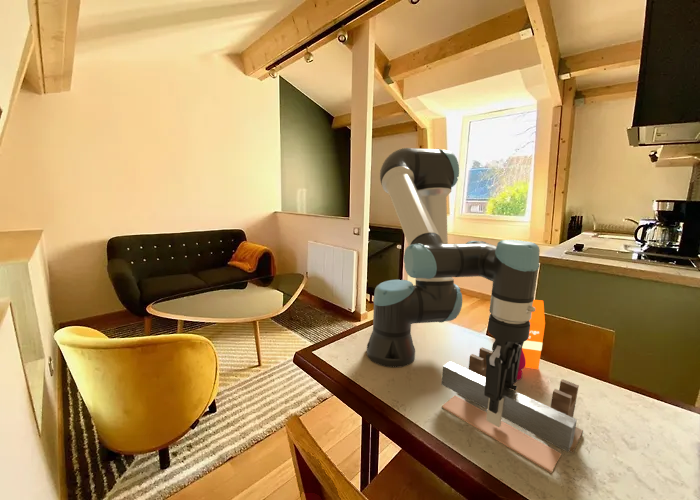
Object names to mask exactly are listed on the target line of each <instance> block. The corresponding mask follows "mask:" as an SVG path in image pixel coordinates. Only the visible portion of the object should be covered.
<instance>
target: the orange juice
mask: <svg viewBox="0 0 700 500" xmlns="http://www.w3.org/2000/svg"><path fill="white" fill-rule="evenodd" d="M532 307H535V309H536V310H535V311H534V312H532V315H531V319H530V320H529V322H530V323H531V324H530V332H529V338H528V340H526V341H524V343H523V346H522V350H523V353H524V356H525V360H526V365H525V367H524V368H526V369H528V368H529V369H534V370H539V367H540V361H541V355H542V350H543V339H544V335H545V334H544V333H545V327H546V320H545V319H546V317H545V305H544V300H541V299H540V300H539V299H534V300H533V305H532Z"/></svg>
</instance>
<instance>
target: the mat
mask: <svg viewBox="0 0 700 500" xmlns="http://www.w3.org/2000/svg"><path fill="white" fill-rule="evenodd" d="M441 408H442V409H444V410H446V411H447V412H449V413H450V414H452V415H454V416H456V417H457V418H458V419H460V420H462V421H464V422H466V423H467V424H469V425H470V426H472V427H473V428H476V430H478V431H480V432H483V434H486V435H487V436H488V437H490V438H492V439H494V440H496V441H497V442H499V443H500V444H502V445H504V446H505V447H507V448H509V450H512V451H513V452H515V453H518V454H519V455H520V456H522V457H524V458H525V459H527V460H529V461H530V462H532V463H534V464H535V465H537V466H539V467H540V468H542V469H544V470H545V471H547V472H549V473H550V474H552V473H553V471H554V469H555V467H556V465H557V464H558V462H559V460H560V458H561V455H562V453H561V452H559V451H557V450H555V449H554V448H552V447H550V446H548V445H546V444H544V442H541V441H539V440H538V439H535V438H534V437H532V436H530V435H528V434H526V433H525V432H523V431H522V430H520V429H517V428H515V427H514V426H512V425H510V424H508V423H507V422H504V421H503V420H501V426H500V427H497V426H495V425H494V424H492V423H490V422H488V421H487V420H486V418H487V411H485V410H483V409H481V408H479V407H477V406H476V405H473V404H472V403H470V402H468V401H466V400H465V399H463V398H461V397H459V396H457V395H453V396H452V397H451V398H449V400H447V401H446V402H444V403H443V404H442V405H441Z"/></svg>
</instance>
